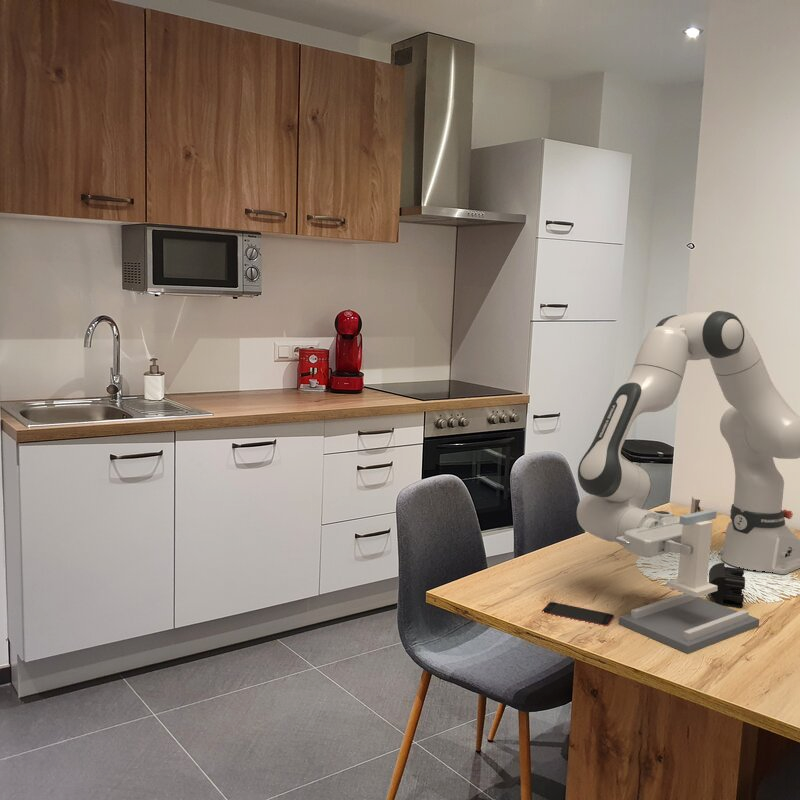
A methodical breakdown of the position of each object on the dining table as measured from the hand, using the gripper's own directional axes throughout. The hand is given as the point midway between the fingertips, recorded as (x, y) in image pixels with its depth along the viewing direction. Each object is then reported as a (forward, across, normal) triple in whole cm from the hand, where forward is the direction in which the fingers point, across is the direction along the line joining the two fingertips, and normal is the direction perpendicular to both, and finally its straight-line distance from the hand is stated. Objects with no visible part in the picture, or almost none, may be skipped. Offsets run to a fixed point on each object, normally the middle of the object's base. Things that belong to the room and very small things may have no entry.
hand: (699, 548), depth 165 cm
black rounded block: (-5, +20, +16) cm, 26 cm away
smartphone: (-17, -15, +17) cm, 28 cm away
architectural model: (-46, +68, +17) cm, 84 cm away
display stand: (-1, 0, +8) cm, 9 cm away
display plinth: (-1, 0, +16) cm, 16 cm away
